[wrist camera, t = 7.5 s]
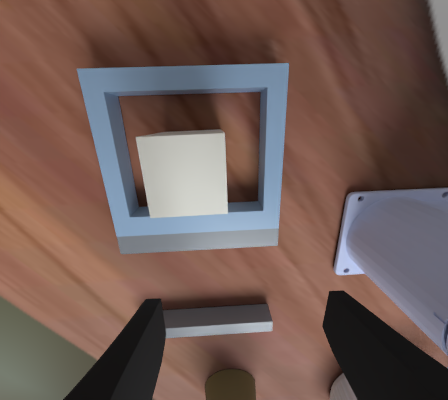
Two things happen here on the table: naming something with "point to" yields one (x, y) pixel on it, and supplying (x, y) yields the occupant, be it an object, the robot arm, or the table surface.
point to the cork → (230, 386)
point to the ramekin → (342, 389)
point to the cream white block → (184, 172)
